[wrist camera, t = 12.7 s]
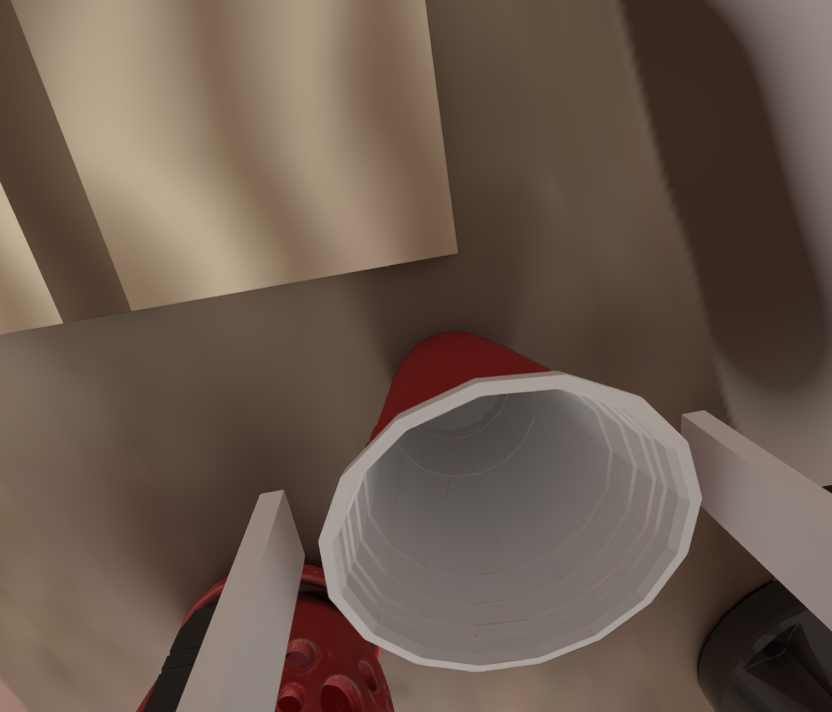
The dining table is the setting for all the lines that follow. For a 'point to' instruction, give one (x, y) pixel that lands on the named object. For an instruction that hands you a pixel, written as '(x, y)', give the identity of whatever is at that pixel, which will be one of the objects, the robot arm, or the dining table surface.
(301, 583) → the plant pot
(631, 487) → the plastic cup
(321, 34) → the plywood panel
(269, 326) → the dining table surface
